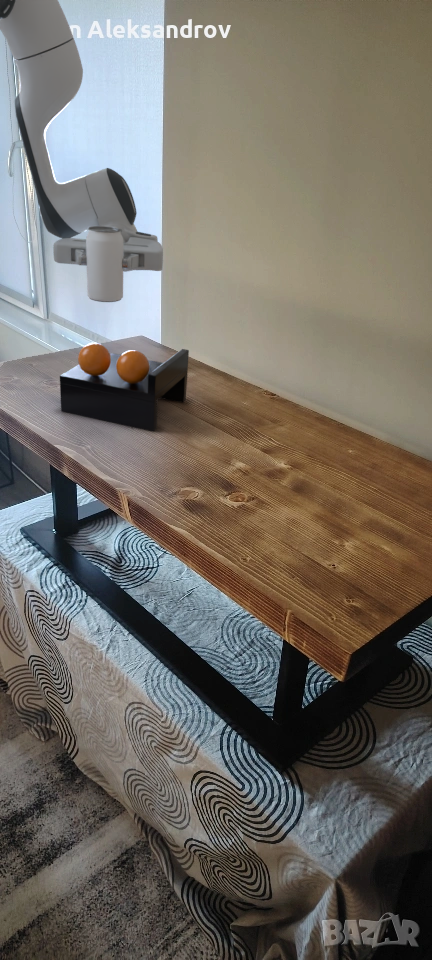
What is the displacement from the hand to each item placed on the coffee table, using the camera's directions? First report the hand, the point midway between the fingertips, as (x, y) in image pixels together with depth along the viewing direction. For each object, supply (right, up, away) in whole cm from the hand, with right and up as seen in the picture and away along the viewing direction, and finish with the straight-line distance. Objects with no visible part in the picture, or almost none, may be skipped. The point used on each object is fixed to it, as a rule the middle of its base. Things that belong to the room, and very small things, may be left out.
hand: (104, 262), depth 111 cm
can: (-1, -5, +4) cm, 7 cm away
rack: (+5, -26, -8) cm, 28 cm away
